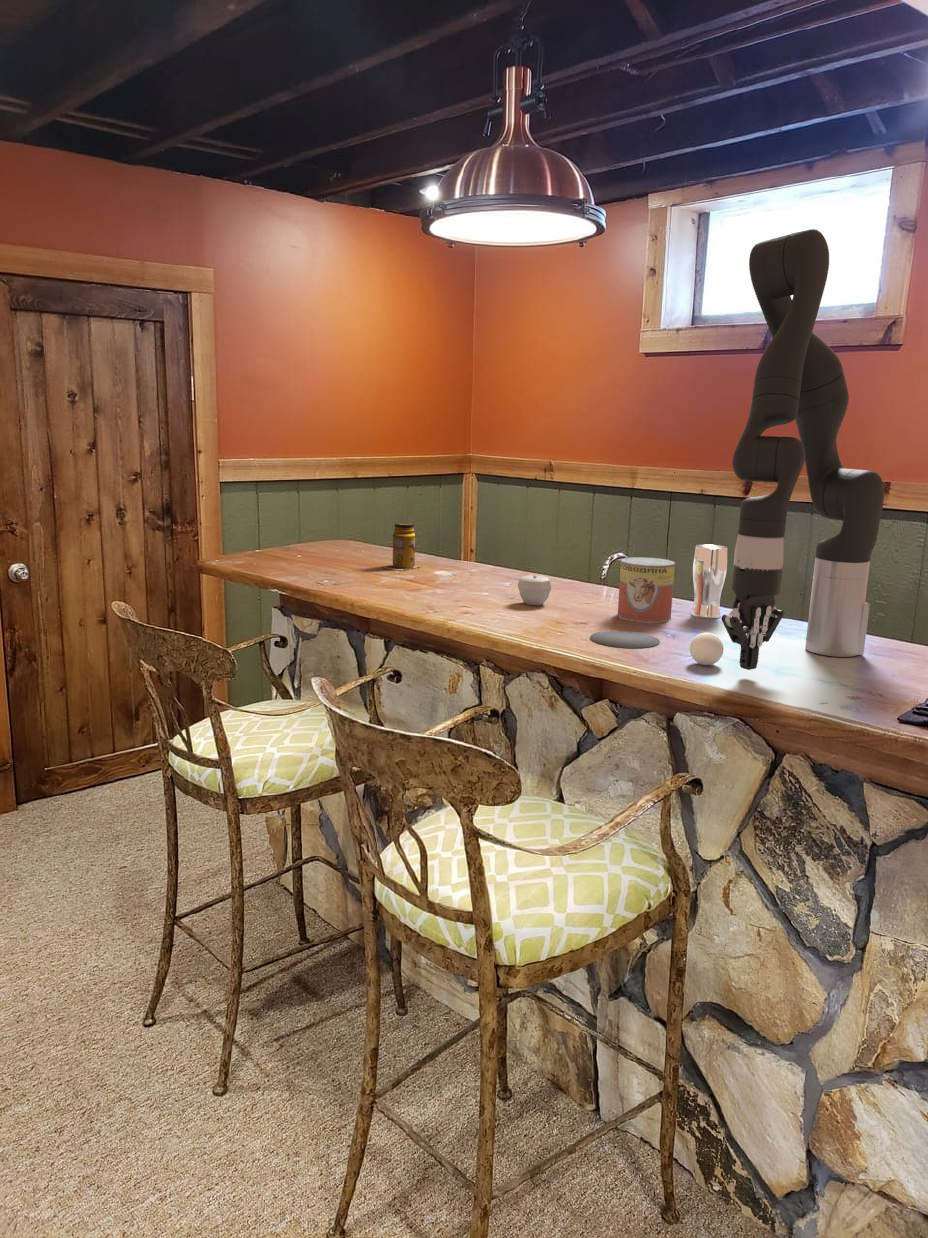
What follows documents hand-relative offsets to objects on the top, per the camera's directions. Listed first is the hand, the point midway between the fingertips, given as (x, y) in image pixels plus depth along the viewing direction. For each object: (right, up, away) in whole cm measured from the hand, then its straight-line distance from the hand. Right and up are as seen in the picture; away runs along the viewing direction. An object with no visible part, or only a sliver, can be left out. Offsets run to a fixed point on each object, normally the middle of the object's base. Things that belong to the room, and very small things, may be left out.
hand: (747, 668), depth 149 cm
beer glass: (+6, +9, +48) cm, 49 cm away
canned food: (-8, +8, +45) cm, 46 cm away
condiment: (-64, +22, +99) cm, 120 cm away
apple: (-31, +11, +55) cm, 64 cm away
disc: (-16, +4, +24) cm, 29 cm away
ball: (-5, +3, +7) cm, 9 cm away
